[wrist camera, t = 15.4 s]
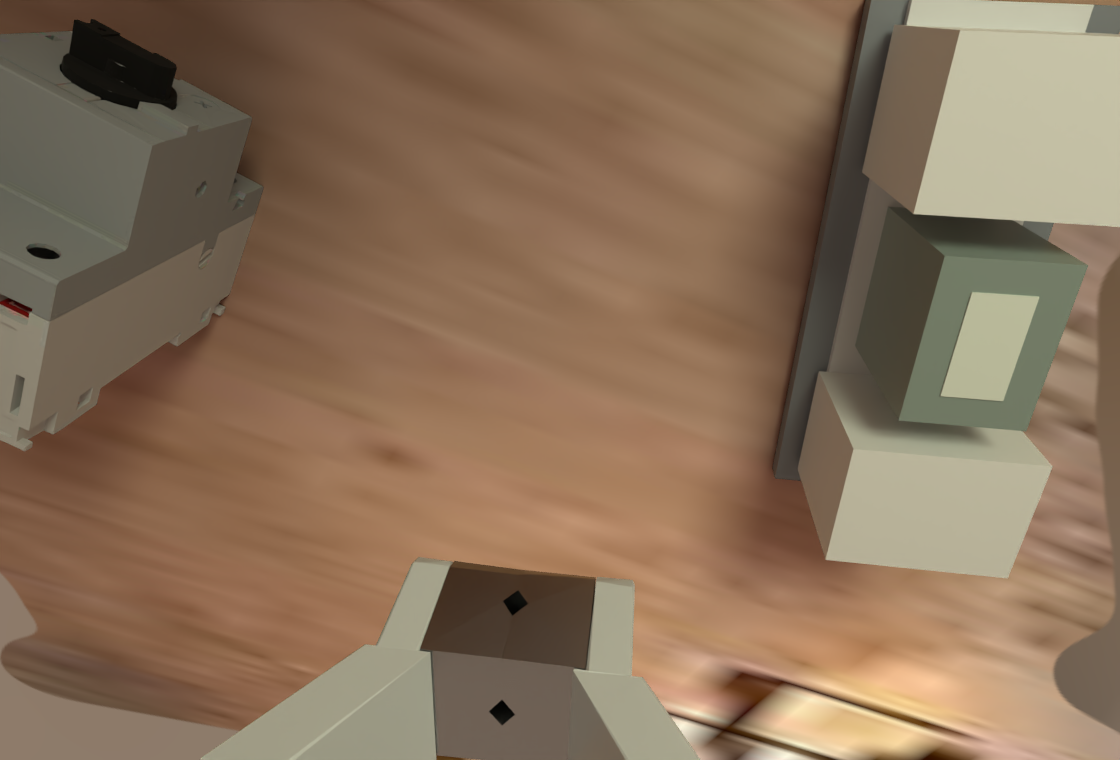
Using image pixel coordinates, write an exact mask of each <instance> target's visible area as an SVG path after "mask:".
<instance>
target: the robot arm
mask: <svg viewBox="0 0 1120 760" xmlns="http://www.w3.org/2000/svg"><path fill="white" fill-rule="evenodd" d="M595 580H596V586H595ZM634 592H635V585H634V582H633V580H627V579H615V578H604V577H597V579H596V577H587V576H577V575H567V574H557V573H547V572H537V571H527V570H518V569H511V568H503V567H496V566H488V565H480V564H473V563H465V562H458V561H454V562H451V561H444V560H437V559H429V558H422V557H418V558H417V559H416V560H415V561H414V562H413V563H412V564H411V567H410V569H409V571H408V574H407V576H406V578H405V580H404V583H403V585H402V587H401V589H400V592H399V594H398V596H397V599H396V601H395V603H394V605H393V608H392V610H391V612H390V614H389V617H388V619H387V621H386V624H385V626H384V628H383V630H382V633H381V635H380V637H379V639H378V642H377V644H376V646H375V645H363V646H362V647H361V648H359V649H358V650H356V651H355V652H353V653H352V654H350V655H349V656H347V657H346V658H345V659H343V660H342V661H340V662H339V663H337V664H336V665H334V666H333V667H332V668H330V669H329V670H327V671H326V672H324V673H323V674H321V675H320V676H319V677H317V678H316V679H314V680H313V681H311V682H310V683H308V684H307V685H306V686H304V687H303V688H301V689H300V690H298V691H297V692H295V693H294V694H293V695H291V696H290V697H288V698H287V699H285V700H284V701H282V702H281V703H280V704H278V705H277V706H275V707H274V708H272V709H271V710H269V711H268V712H267V713H265V714H264V715H262V716H261V717H259V718H258V719H256V720H255V721H253V722H252V723H251V724H249V725H248V726H246V727H245V728H243V729H242V730H240V731H239V732H238V733H236V734H235V735H233V736H232V737H230V738H229V739H228V740H226V741H225V742H223V743H222V744H220V745H219V746H217V747H216V748H214V749H213V750H212V751H210V752H209V753H208V754H206V755H204V756H203V757H202V758H201V759H200V760H436V755H440V756H450V757H460V758H470V759H480V760H700V758H699V757H698V755H697V754H696V752H695V751H694V750H693V748H692V747H691V745H690V744H689V742H688V741H687V740H686V738H685V737H684V735H683V734H682V732H681V731H680V730H679V728H678V727H677V725H676V724H675V722H674V721H673V720H672V718H671V717H670V715H669V714H668V712H667V711H666V710H665V708H664V707H663V705H662V704H661V702H660V701H659V700H658V698H657V697H656V695H655V694H654V692H653V691H652V690H651V688H650V687H649V685H648V684H647V682H646V681H645V680H644V678H643V677H636V676H632V649H633V621H634ZM594 595H595V596H594Z"/></svg>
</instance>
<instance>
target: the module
mask: <svg viewBox="0 0 1120 760" xmlns="http://www.w3.org/2000/svg"><path fill="white" fill-rule="evenodd" d="M1087 267H1088V265H1087V264H1085V263H1083V262H1082V261H1080V260H1078V259H1077V258H1075V257H1073V256H1072V255H1070V254H1068V253H1067V252H1065V251H1063V250H1062V249H1060V248H1058V247H1057V246H1055V245H1053V244H1052V243H1050V242H1048V241H1047V240H1045V239H1043V238H1042V237H1040V236H1038V235H1037V234H1035V233H1033V232H1032V231H1030V230H1028V229H1027V228H1025V227H1023V226H1022V225H1020V224H1019V223H1017V222H1015V221H1014V220H1002V219H986V218H970V217H954V216H938V215H921V214H913V213H912V212H910V211H909V210H908V209H907V208H902V207H888V209H887V213H886V217H885V222H884V226H883V230H882V234H881V239H880V243H879V247H878V251H877V255H876V260H875V264H874V268H873V272H872V276H871V281H870V285H869V289H868V293H867V298H866V302H865V306H864V310H863V314H862V319H861V323H860V327H859V331H858V336H857V340H856V344H855V347H856V349H857V350H858V352H859V354H860V355H861V357H862V359H863V361H864V362H865V364H866V366H867V367H868V369H869V371H870V372H871V374H872V376H873V378H874V379H875V381H876V383H877V384H878V386H879V388H880V390H881V391H882V393H883V395H884V396H885V398H886V400H887V401H888V403H889V405H890V407H891V408H892V410H893V412H894V413H895V415H896V417H897V419H898V420H899V421H910V422H922V423H933V424H945V425H957V426H969V427H981V428H993V429H1004V430H1016V431H1026V430H1027V427H1028V425H1029V422H1030V419H1031V417H1032V414H1033V411H1034V409H1035V406H1036V403H1037V401H1038V398H1039V395H1040V393H1041V390H1042V387H1043V385H1044V382H1045V379H1046V377H1047V374H1048V371H1049V369H1050V366H1051V363H1052V361H1053V358H1054V355H1055V353H1056V350H1057V347H1058V344H1059V342H1060V339H1061V336H1062V334H1063V331H1064V328H1065V326H1066V323H1067V320H1068V318H1069V315H1070V312H1071V310H1072V307H1073V304H1074V302H1075V299H1076V296H1077V294H1078V291H1079V288H1080V286H1081V283H1082V280H1083V278H1084V275H1085V272H1086V270H1087Z"/></svg>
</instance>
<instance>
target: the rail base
mask: <svg viewBox="0 0 1120 760" xmlns="http://www.w3.org/2000/svg"><path fill="white" fill-rule="evenodd" d="M1119 32H1120V6H1107V5H1086V4H1060V3H1033V2H1007V1H981V0H865V4H864V10H863V15H862V20H861V25H860V30H859V35H858V40H857V45H856V50H855V55H854V60H853V65H852V70H851V75H850V80H849V85H848V90H847V95H846V100H845V105H844V110H843V115H842V120H841V125H840V130H839V135H838V141H837V146H836V151H835V156H834V161H833V166H832V171H831V176H830V181H829V186H828V191H827V196H826V201H825V206H824V211H823V216H822V221H821V226H820V231H819V236H818V241H817V246H816V251H815V256H814V261H813V266H812V272H811V277H810V282H809V287H808V292H807V297H806V302H805V307H804V312H803V317H802V322H801V327H800V332H799V337H798V342H797V347H796V352H795V357H794V362H793V367H792V372H791V377H790V382H789V387H788V392H787V397H786V402H785V408H784V413H783V418H782V423H781V428H780V433H779V438H778V443H777V448H776V453H775V458H774V463H773V468H772V469H773V473H774V477H775V478H777V479H788V480H798V481H801V482H802V485H803V488H804V492H805V495H806V498H807V501H808V505H809V508H810V511H811V514H812V518H813V521H814V524H815V527H816V531H817V534H818V537H819V540H820V544H821V547H822V550H823V554H824V557H825V560H832V561H842V562H852V563H862V564H871V565H881V566H891V567H901V568H911V569H921V570H931V571H940V572H950V573H960V574H970V575H980V576H990V577H1000V578H1008V576H1009V573H1010V571H1011V568H1012V566H1013V564H1014V561H1015V559H1016V556H1017V554H1018V551H1019V549H1020V546H1021V544H1022V541H1023V539H1024V536H1025V534H1026V531H1027V529H1028V526H1029V524H1030V521H1031V519H1032V516H1033V514H1034V512H1035V509H1036V507H1037V504H1038V502H1039V499H1040V497H1041V494H1042V492H1043V489H1044V487H1045V484H1046V482H1047V479H1048V477H1049V474H1050V472H1051V469H1052V465H1051V464H1050V463H1049V462H1048V461H1047V460H1046V458H1045V457H1044V456H1043V455H1042V454H1041V453H1040V451H1039V450H1038V449H1037V448H1036V447H1035V446H1034V444H1033V443H1032V442H1031V441H1030V440H1029V439H1028V437H1027V436H1026V435H1025V434H1024V433H1023V432H1022V431H1016V430H1004V429H993V428H981V427H969V426H957V425H945V424H933V423H922V422H910V421H899V420H898V419H897V417H896V415H895V413H894V412H893V410H892V408H891V407H890V405H889V403H888V401H887V400H886V398H885V396H884V395H883V393H882V391H881V390H880V388H879V386H878V384H877V383H876V381H875V379H874V378H873V376H872V374H871V372H870V371H869V369H868V367H867V366H866V364H865V362H864V361H863V359H862V357H861V355H860V354H859V352H858V350H857V349H856V347H855V344H856V340H857V336H858V331H859V327H860V323H861V319H862V314H863V310H864V306H865V302H866V298H867V293H868V289H869V285H870V281H871V276H872V272H873V268H874V264H875V260H876V255H877V251H878V247H879V243H880V239H881V234H882V230H883V226H884V222H885V217H886V213H887V209H888V207H902V208H907V209H908V210H909V211H910V212H912V213H913V214H921V215H938V216H954V217H970V218H986V219H1002V220H1014V221H1015V222H1017V223H1019V224H1020V225H1022V226H1023V227H1025V228H1027V229H1028V230H1030V231H1032V232H1033V233H1035V234H1037V235H1038V236H1040V237H1042V238H1043V239H1045V240H1047V241H1048V238H1049V236H1050V233H1051V230H1052V227H1053V224H1054V223H1067V224H1083V225H1099V226H1115V227H1120V34H1119Z"/></svg>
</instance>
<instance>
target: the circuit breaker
mask: <svg viewBox="0 0 1120 760" xmlns="http://www.w3.org/2000/svg"><path fill="white" fill-rule="evenodd" d="M175 72H176V65H175V64H174V63H173V62H171V61H170V60H168V59H166V58H164V57H162V56H160V55H159V54H157V53H154V54H152V53H151V52H149V51H147V50H145V49H143V48H141V47H140V46H138V45H136V44H134V43H132V42H130V41H128V40H127V39H125V38H123V37H121V36H120V33H118V32H116V31H114V30H112V29H111V28H109V27H107V26H105V25H103V24H101V23H99V22H98V21H96V20H93V19H91V22H90V23H85V22H82V21H80V20H74V25H73V31H62V32H39V33H16V34H0V440H1V441H3V442H6V443H8V444H10V445H12V446H14V447H16V448H19V449H21V450H23V451H26V450H28V449H30V448H31V447H32V445H33V442H32V441H29V440H28V439H30V438H32V437H33V436H35V435H37V434H38V433H40V432H42V431H47V432H49V433H51V434H55V433H56V432H58V431H60V430H61V429H63V428H64V427H66V426H67V425H69V424H70V423H71V422H73V421H74V420H75V419H77V418H78V417H80V416H81V415H82V414H84V413H85V412H87V411H88V410H89V409H91V408H92V407H94V406H95V405H96V404H97V401H98V397H99V393H100V389H101V388H102V387H103V386H105V385H106V384H108V383H109V382H110V381H112V380H113V379H115V378H116V377H118V376H119V375H121V374H122V373H123V372H125V371H126V370H128V369H129V368H131V367H132V366H134V365H135V364H136V363H138V362H139V361H141V360H142V359H144V358H145V357H147V356H148V355H149V354H151V353H152V352H154V351H155V350H157V349H158V348H159V347H161V346H162V345H164V344H165V343H167V342H169V343H171V344H173V345H175V346H179V345H180V344H182V343H183V342H184V341H186V340H187V339H189V338H190V337H191V336H193V335H194V334H195V333H197V332H198V331H200V330H201V329H202V328H204V327H205V326H207V325H208V324H209V322H210V319H211V316H212V313H215V314H217V315H219V316H221V315H222V314H223V313H224V310H225V307H224V306H222V305H220V304H219V303H220V300H222V299H223V298H225V297H226V296H228V295H229V294H230V292H231V288H232V285H233V282H234V279H235V276H236V273H237V270H238V267H239V263H240V260H241V257H242V254H243V251H244V248H245V245H246V241H247V238H248V235H249V232H250V229H251V226H252V223H253V220H254V216H255V213H256V210H257V207H258V204H259V201H260V198H261V194H262V191H263V186H261V185H259V184H257V183H255V182H254V181H252V180H250V179H248V178H246V177H244V176H242V175H240V174H238V173H237V169H238V166H239V162H240V159H241V155H242V152H243V149H244V145H245V142H246V138H247V135H248V132H249V128H250V125H251V122H252V117H251V116H249V115H247V114H245V113H243V112H241V111H239V110H238V109H236V108H234V107H232V106H230V105H228V104H226V103H225V102H223V101H221V100H219V99H217V98H215V97H213V96H212V95H210V94H208V93H206V92H204V91H202V90H200V89H199V88H197V87H195V86H193V85H191V84H189V83H187V82H186V81H184V80H182V79H180V80H176V79H175V78H174V76H175ZM78 402H79V403H80V404H78Z"/></svg>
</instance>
